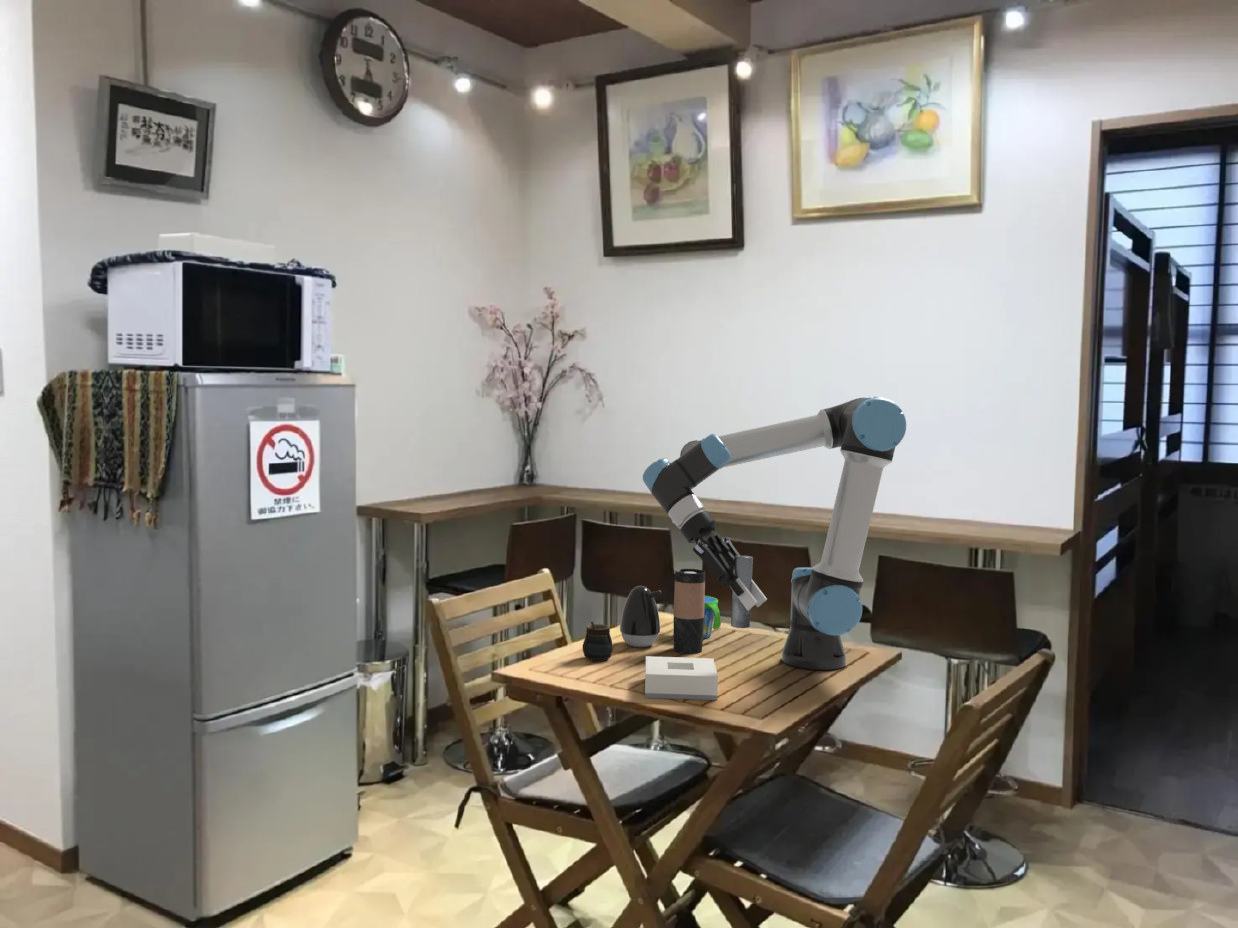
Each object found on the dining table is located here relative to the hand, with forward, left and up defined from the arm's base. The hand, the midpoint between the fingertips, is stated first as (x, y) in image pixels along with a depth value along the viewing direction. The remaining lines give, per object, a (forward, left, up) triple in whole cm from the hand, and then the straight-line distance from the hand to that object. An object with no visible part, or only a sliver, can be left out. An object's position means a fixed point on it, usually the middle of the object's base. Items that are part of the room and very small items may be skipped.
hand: (757, 604), depth 213 cm
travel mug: (+13, -36, -19) cm, 43 cm away
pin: (+3, -2, -5) cm, 6 cm away
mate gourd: (+35, -24, -19) cm, 47 cm away
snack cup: (+10, -52, -19) cm, 57 cm away
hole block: (+16, -1, -19) cm, 25 cm away
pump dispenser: (+25, -40, -19) cm, 51 cm away
